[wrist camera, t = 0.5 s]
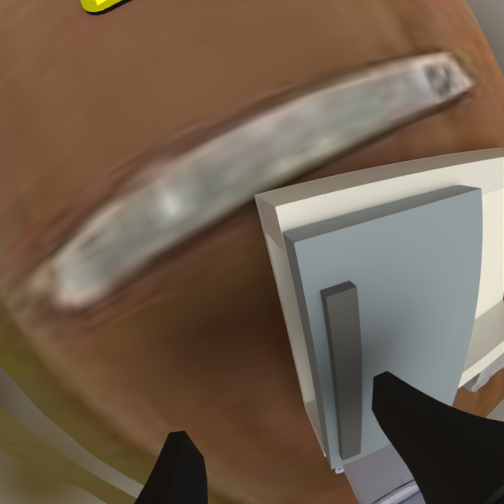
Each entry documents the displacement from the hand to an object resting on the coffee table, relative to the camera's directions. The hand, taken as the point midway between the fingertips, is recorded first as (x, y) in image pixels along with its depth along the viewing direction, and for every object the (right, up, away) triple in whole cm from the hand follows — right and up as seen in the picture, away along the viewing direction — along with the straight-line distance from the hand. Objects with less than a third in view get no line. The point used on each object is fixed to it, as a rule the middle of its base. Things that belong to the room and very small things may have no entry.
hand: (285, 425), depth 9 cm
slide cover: (+7, +1, +5) cm, 8 cm away
